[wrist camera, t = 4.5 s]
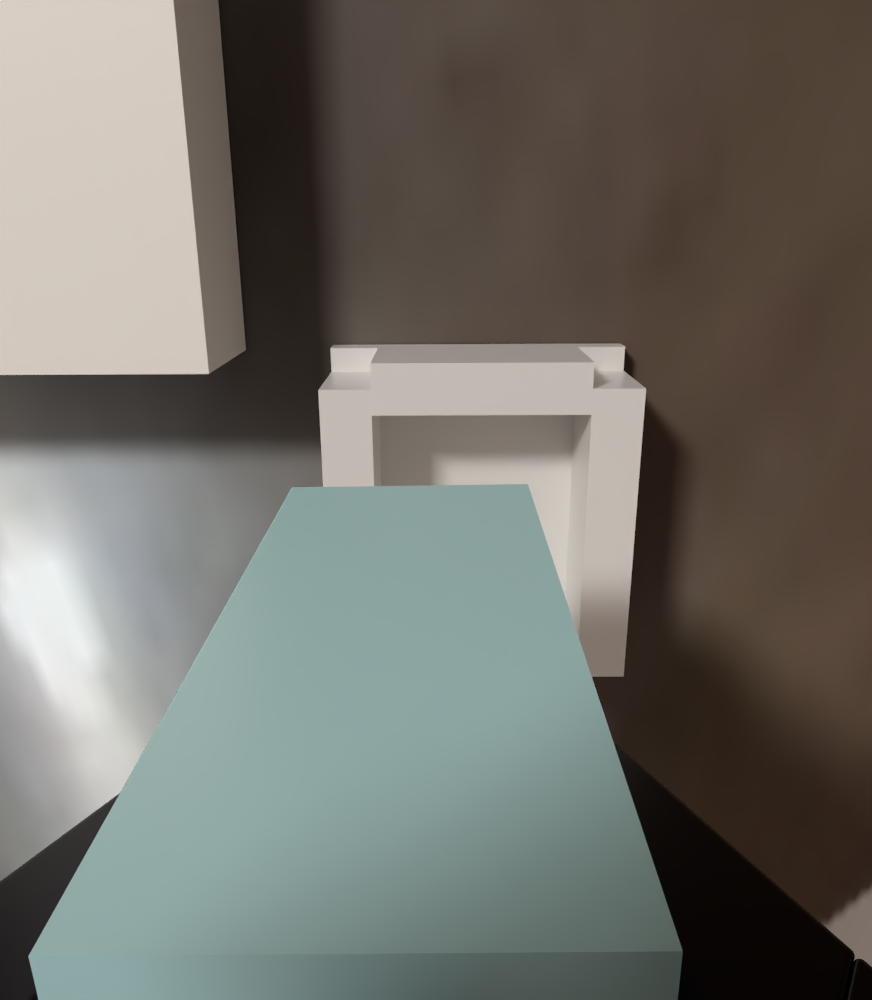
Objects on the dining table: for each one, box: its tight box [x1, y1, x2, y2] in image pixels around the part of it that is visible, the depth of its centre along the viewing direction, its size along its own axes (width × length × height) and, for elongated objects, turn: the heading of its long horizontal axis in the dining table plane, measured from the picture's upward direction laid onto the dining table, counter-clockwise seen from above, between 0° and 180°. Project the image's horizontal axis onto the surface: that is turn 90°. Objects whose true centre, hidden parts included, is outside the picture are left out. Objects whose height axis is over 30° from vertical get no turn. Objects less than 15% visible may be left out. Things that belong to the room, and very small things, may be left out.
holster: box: [318, 344, 646, 677], centre depth 18 cm, size 6×7×2 cm
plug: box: [28, 484, 683, 1000], centre depth 7 cm, size 3×4×8 cm
